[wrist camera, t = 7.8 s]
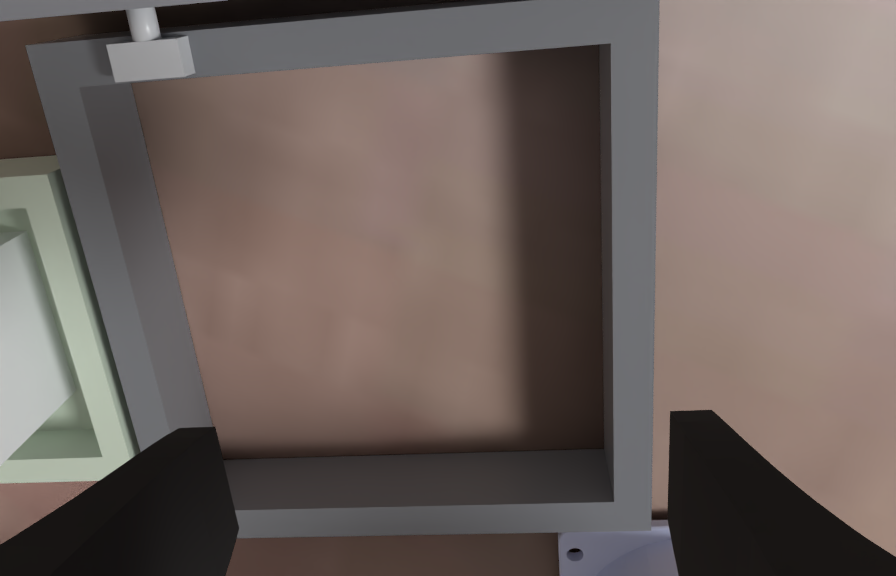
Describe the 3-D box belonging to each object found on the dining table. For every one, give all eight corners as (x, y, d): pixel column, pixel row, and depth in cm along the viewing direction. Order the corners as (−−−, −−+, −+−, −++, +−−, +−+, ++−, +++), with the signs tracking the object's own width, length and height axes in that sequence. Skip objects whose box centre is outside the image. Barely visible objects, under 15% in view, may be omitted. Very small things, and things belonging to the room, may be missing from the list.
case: (637, 475, 24) (667, 599, 19) (197, 486, 25) (127, 603, 21) (641, -81, 18) (686, -93, 13) (65, -24, 19) (-72, -18, 15)
